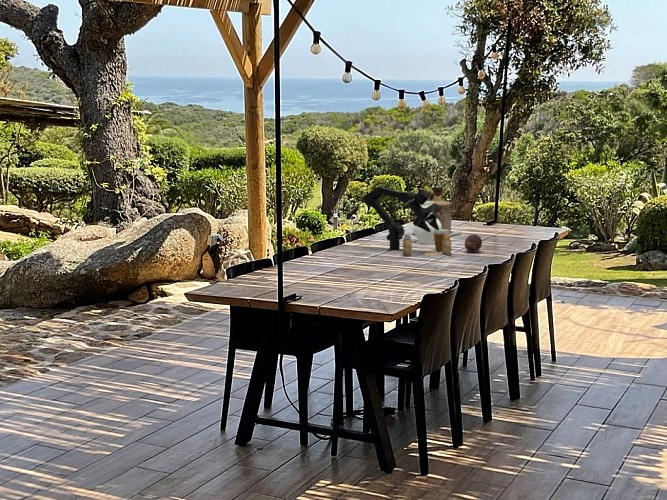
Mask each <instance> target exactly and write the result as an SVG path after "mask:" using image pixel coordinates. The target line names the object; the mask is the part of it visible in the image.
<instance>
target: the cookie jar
mask: <svg viewBox="0 0 667 500" xmlns="http://www.w3.org/2000/svg"><path fill="white" fill-rule="evenodd" d="M427 193H428V194H429V195H430V198H429V199H428V200H427V201H432V202H434V203H433V204H432V205H434V206H435V207H436V208H435V211H433V212H432V213H436V214H437V215H438V217H437V218H438V220H439V221H440V223H441V226H442V229H448V230H449V232H450V233H449V236H450V237H451V236H455V235H456V236H457V235H462V233H463V231H462V230H460V231H459V230H457V231H456V230H455V231H454V230H452V214H451V205H452V203H451V202H449V201H446V200H445V199H444V198H443V196H444V194H445V193H444V185H441V186H433V187H431V189H430V190H428V191H427ZM411 235H415V234H414V232H411Z"/></svg>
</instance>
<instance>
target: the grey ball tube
mask: <svg viewBox="0 0 667 500" xmlns="http://www.w3.org/2000/svg"><path fill="white" fill-rule="evenodd" d="M411 237H412V236H411V234H409V233H404V235H403V238H402V255H403V256H407V257H406V258H409V257H408V256H412V255H413V253H412V251H413V247H412V246H413V245H412V241H413V239H412V238H411Z"/></svg>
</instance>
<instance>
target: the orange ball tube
mask: <svg viewBox="0 0 667 500" xmlns="http://www.w3.org/2000/svg"><path fill="white" fill-rule="evenodd" d="M441 255H442V256H448V257H451V256H452V239H451V236H449V235H448V234H445V235H444V239H443V240H442V251H441Z"/></svg>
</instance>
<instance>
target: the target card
mask: <svg viewBox="0 0 667 500" xmlns="http://www.w3.org/2000/svg"><path fill="white" fill-rule="evenodd" d="M424 255H426V256H436V255H438V253H436V252H425V253H424ZM400 257H402V258H403V257H404V258H411V257H414V255H413V254H412V256H408V257H407V256H403V254H401V255H400Z"/></svg>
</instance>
